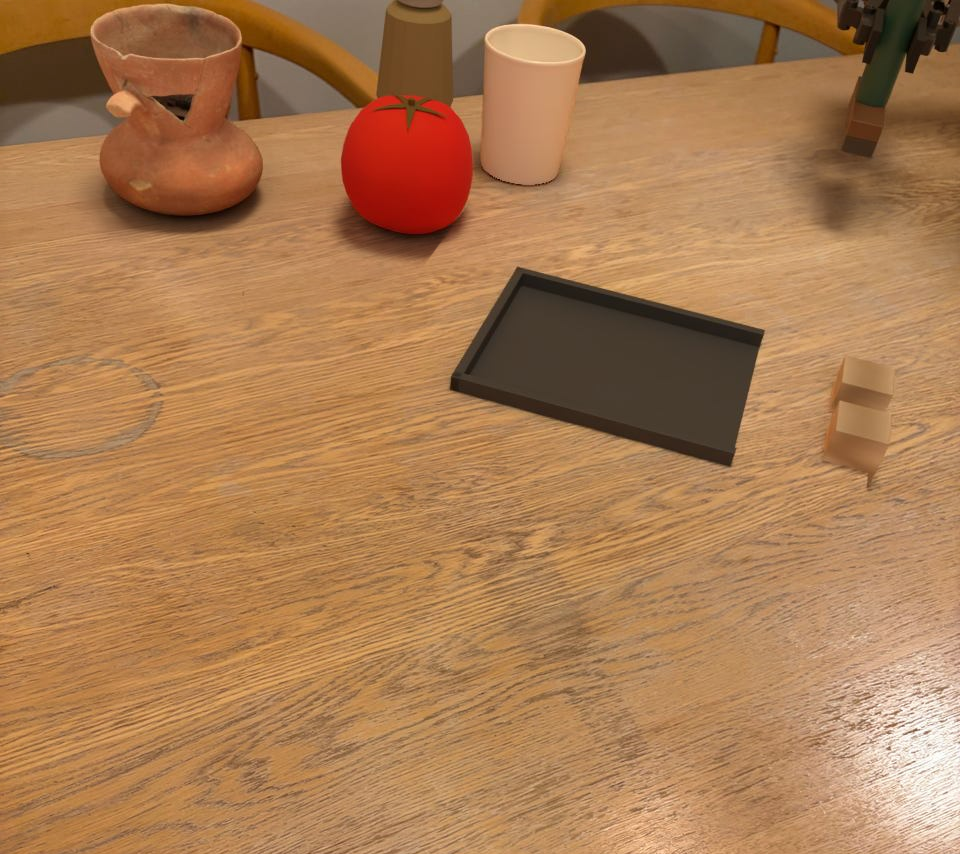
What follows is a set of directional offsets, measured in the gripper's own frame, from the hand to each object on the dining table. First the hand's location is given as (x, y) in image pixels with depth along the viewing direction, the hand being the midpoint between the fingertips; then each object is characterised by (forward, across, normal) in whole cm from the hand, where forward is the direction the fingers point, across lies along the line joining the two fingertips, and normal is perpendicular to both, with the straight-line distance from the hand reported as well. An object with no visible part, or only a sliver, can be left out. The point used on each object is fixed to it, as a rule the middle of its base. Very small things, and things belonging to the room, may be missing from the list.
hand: (893, 51), depth 92 cm
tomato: (+20, +39, -17) cm, 47 cm away
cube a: (+32, -4, -17) cm, 37 cm away
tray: (+36, +15, -17) cm, 42 cm away
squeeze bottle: (+1, +45, -17) cm, 48 cm away
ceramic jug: (+24, +59, -17) cm, 66 cm away
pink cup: (+3, +32, -17) cm, 37 cm away
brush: (-5, 0, -9) cm, 11 cm away
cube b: (+39, -5, -17) cm, 43 cm away
